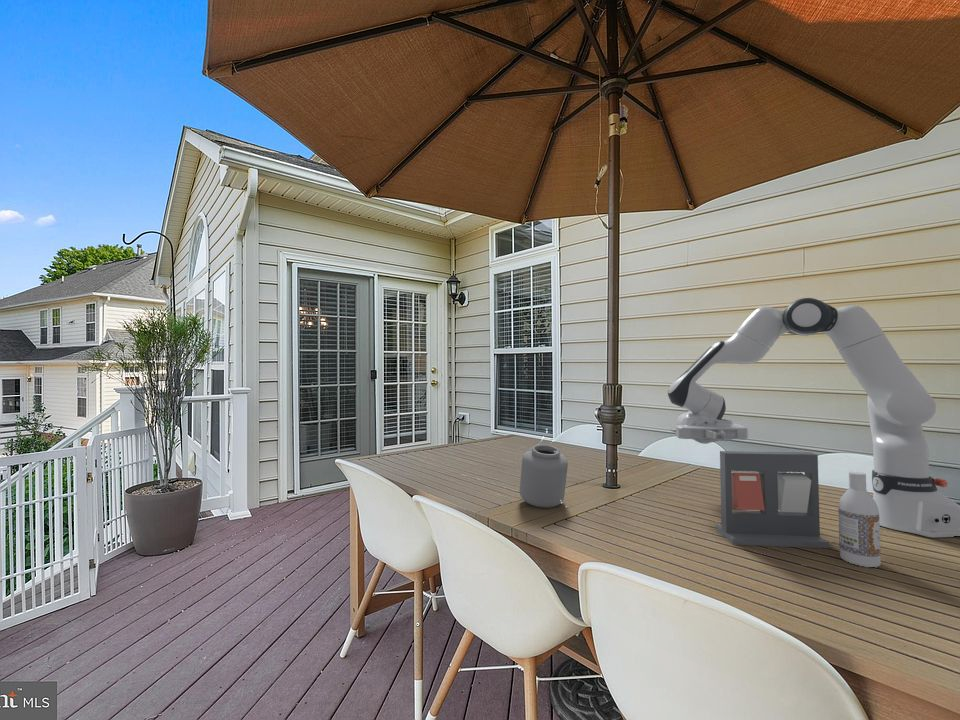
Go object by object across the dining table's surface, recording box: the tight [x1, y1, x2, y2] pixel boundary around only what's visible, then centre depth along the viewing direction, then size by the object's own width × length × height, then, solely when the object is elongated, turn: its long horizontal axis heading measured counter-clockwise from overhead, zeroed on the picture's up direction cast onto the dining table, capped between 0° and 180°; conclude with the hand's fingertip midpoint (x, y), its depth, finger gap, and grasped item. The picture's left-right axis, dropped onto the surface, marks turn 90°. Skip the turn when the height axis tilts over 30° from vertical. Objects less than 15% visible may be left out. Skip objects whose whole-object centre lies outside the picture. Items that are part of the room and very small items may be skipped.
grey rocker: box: [777, 472, 811, 513], centre depth 110 cm, size 6×4×9 cm, turn 82°
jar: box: [519, 428, 569, 509], centre depth 141 cm, size 19×15×25 cm
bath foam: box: [837, 471, 882, 568], centre depth 98 cm, size 7×7×20 cm
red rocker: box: [731, 472, 764, 511], centre depth 112 cm, size 6×4×9 cm
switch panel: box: [715, 450, 830, 549], centre depth 111 cm, size 22×10×22 cm, turn 82°
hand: (720, 436), depth 127 cm, fingers closed
